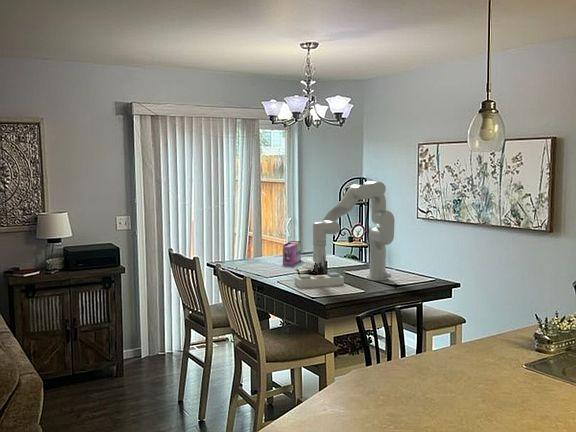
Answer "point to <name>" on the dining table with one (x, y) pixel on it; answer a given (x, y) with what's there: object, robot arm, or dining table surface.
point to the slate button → (334, 274)
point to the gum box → (291, 252)
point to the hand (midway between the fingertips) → (319, 274)
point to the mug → (309, 264)
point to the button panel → (319, 281)
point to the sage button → (305, 276)
